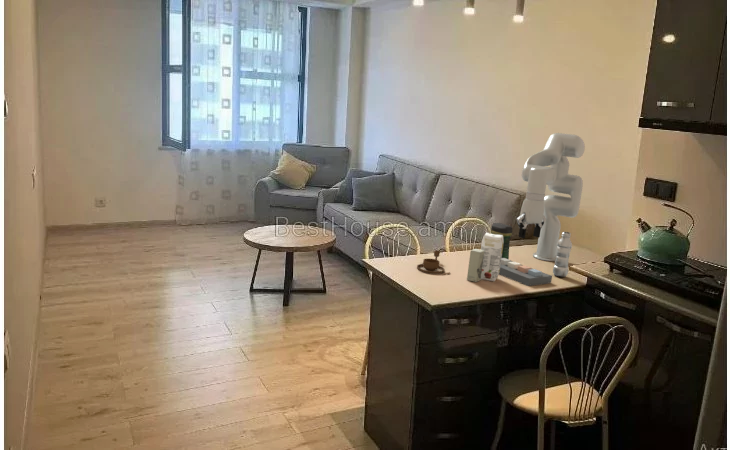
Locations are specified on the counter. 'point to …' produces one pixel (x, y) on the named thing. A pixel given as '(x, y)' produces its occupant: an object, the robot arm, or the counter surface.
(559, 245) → the plastic bottle
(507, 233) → the coffee jar
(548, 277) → the keypad
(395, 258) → the counter surface
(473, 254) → the box
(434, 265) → the brown cup and saucer
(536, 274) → the key
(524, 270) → the key
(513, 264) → the key
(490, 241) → the juice carton
